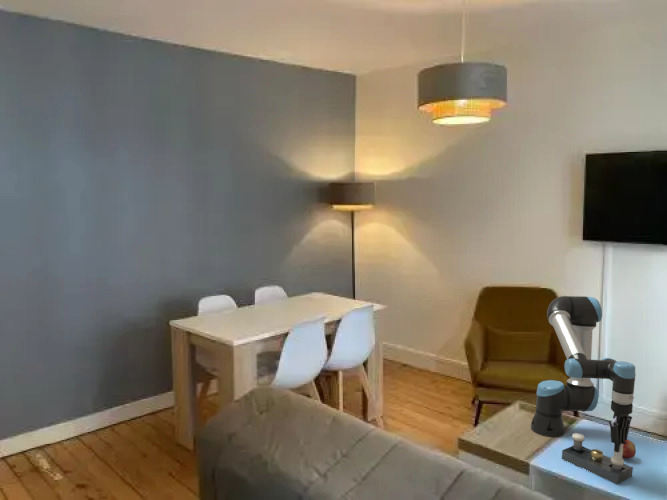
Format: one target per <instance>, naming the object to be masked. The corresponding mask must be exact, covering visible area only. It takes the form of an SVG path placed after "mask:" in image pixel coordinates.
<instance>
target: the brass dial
mask: <svg viewBox="0 0 667 500" xmlns="http://www.w3.org/2000/svg"><path fill="white" fill-rule="evenodd" d="M590 450H591V459H593V460H595V461H602V459H603V455H604V451H603V450H601V449H597V448H593V449H590Z"/></svg>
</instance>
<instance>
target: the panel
mask: <svg viewBox="0 0 667 500" xmlns="http://www.w3.org/2000/svg"><path fill="white" fill-rule="evenodd" d="M591 450H592V449H590V448H587V447H585V446H583V445H582V450H581V451H578V450H575V449H573V445H572V446H569V447H567V448H564V449H562V451H561V460H562V459H564V460H563V461H565V460H566V461H565V462H567V461H568V462H567V463H569V462H570V464H571V463H572V464H571V465H573V464H574V466H576V467H578V468H580V467H581V468H580V469H582V468H584V469H586V470H585V471H587V470H588V471H587V472H589V471H590V472H589V473H591V472H592V473H591V474H593V473H594V475H595V474H596V476H598V477H600V478H602V479H605V480H607V481H609V482H610V483H614V484H615V485H620V484H621V483H623V482H626V481H627V480H629V479H631V478H632V477H633V471H634V468H633V466H631V465H628V464H626V463H624V465H622V470H621V471H619V470H616V469H614V468H612V463H611V457H609V456H607V455H604V454H603V459H602V461H595V460H593V459H591ZM584 469H583V470H584Z"/></svg>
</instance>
